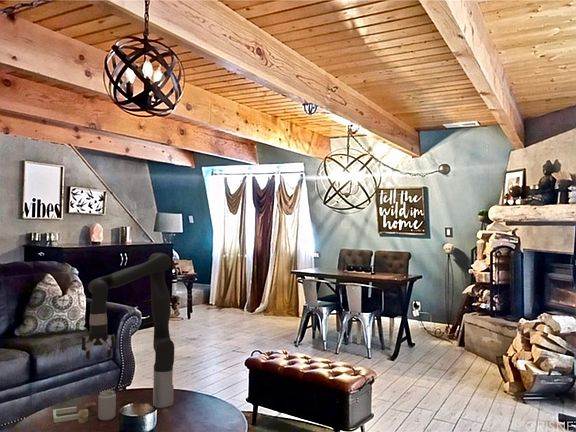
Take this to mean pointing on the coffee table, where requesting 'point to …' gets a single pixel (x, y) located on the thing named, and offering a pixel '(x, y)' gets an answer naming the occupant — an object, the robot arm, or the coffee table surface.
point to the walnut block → (91, 408)
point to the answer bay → (65, 418)
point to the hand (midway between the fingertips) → (98, 358)
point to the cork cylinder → (83, 416)
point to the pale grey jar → (106, 405)
